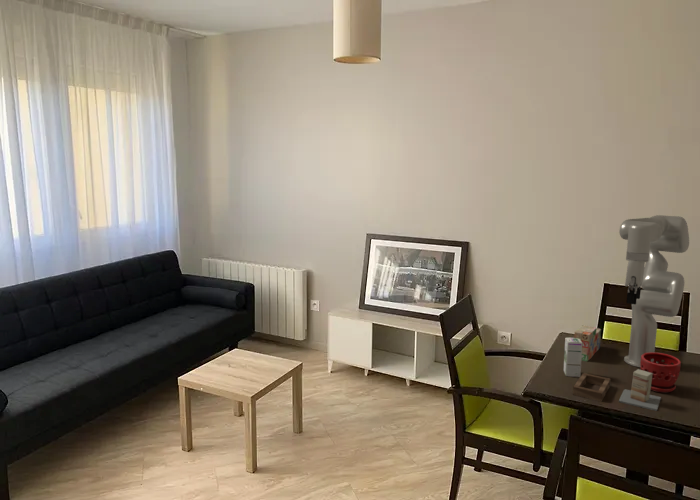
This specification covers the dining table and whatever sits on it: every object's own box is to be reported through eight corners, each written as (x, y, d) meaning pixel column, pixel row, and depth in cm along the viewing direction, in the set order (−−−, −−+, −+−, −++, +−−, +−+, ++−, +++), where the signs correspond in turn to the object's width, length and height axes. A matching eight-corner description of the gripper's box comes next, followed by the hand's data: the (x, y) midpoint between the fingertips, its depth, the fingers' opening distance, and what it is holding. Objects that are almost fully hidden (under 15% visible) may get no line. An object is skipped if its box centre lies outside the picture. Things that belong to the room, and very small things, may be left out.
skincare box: (629, 398, 196) (632, 371, 195) (635, 394, 199) (637, 368, 197) (644, 403, 192) (647, 376, 191) (650, 399, 195) (652, 372, 193)
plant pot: (631, 380, 213) (634, 351, 211) (665, 381, 213) (669, 352, 211) (648, 395, 200) (652, 364, 198) (685, 395, 200) (688, 364, 198)
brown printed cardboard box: (585, 345, 254) (587, 320, 251) (600, 348, 250) (602, 322, 248) (572, 358, 237) (574, 331, 235) (587, 362, 233) (589, 334, 231)
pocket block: (582, 380, 213) (583, 372, 213) (609, 386, 208) (610, 378, 207) (572, 394, 200) (573, 386, 200) (601, 401, 195) (602, 393, 194)
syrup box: (580, 377, 216) (583, 342, 214) (565, 376, 217) (567, 341, 215) (577, 372, 222) (580, 337, 219) (562, 370, 223) (565, 336, 220)
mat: (624, 390, 204) (624, 389, 204) (660, 398, 197) (660, 397, 197) (618, 402, 194) (618, 400, 194) (656, 411, 188) (657, 409, 188)
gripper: (629, 252, 214) (626, 295, 216) (622, 259, 200) (618, 304, 202) (651, 254, 209) (647, 297, 212) (645, 261, 195) (641, 307, 198)
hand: (633, 300), depth 207 cm, fingers open, 9 cm apart
